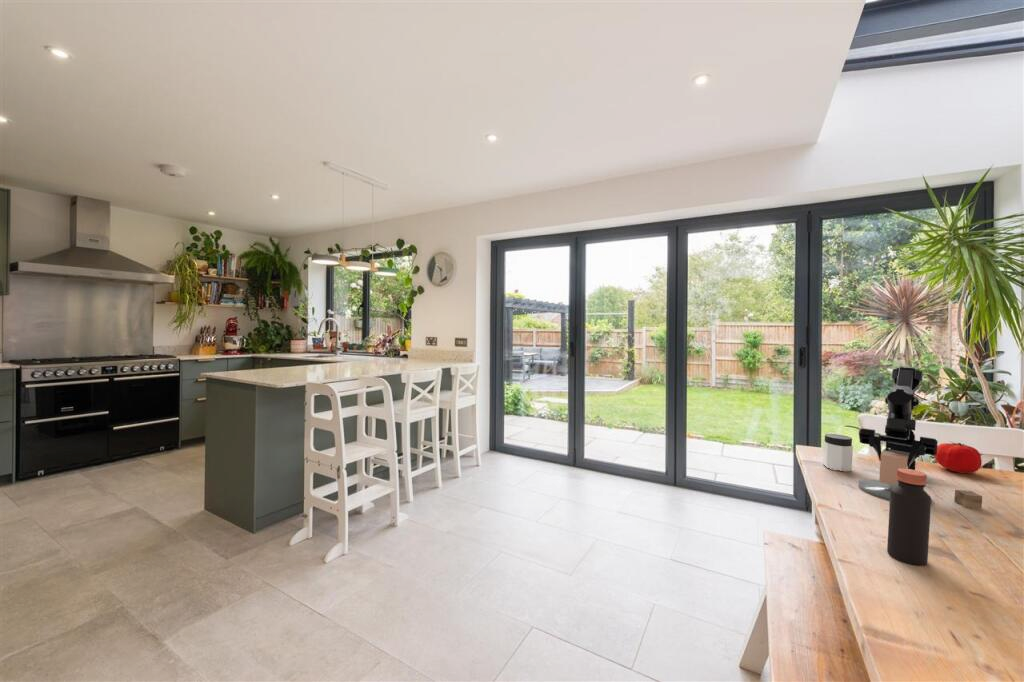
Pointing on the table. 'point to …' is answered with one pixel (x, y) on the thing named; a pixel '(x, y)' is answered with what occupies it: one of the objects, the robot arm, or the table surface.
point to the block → (968, 499)
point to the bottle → (909, 518)
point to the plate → (876, 488)
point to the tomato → (958, 457)
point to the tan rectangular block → (891, 466)
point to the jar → (837, 452)
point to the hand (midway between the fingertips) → (893, 463)
